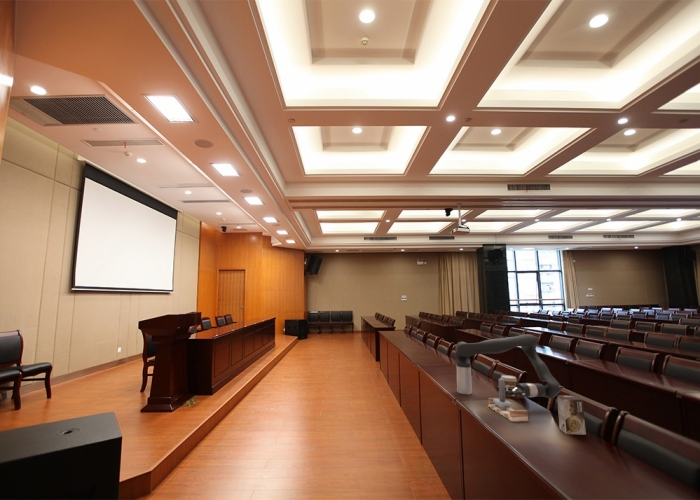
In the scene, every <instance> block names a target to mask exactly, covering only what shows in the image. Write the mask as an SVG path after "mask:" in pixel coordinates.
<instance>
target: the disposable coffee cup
mask: <svg viewBox="0 0 700 500" xmlns="http://www.w3.org/2000/svg"><path fill="white" fill-rule="evenodd" d="M500 379H504V384H505V385H511V386H516V385H517V377H516V376H514V375H506V374H503V375H502V374H501V376H500ZM508 391H509V390H508ZM505 397H508V398H509V397H510V398H515V397H516V396H513V395H505Z"/></svg>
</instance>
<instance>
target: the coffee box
mask: <svg viewBox="0 0 700 500" xmlns="http://www.w3.org/2000/svg"><path fill="white" fill-rule="evenodd" d="M556 398H557V411H558V413H557V414H558V424H559V425H558V427H559V430H561V431H562V432H563V433H564V434H566V435H583V436H585V435H586V436H587V432H586V422H585V421H586V420H585V411H584V400H583V399H582V398H580V397H579V396H576V395H566V394H565V395H563V394H561V395H560V394H558V395H556Z"/></svg>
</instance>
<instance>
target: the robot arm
mask: <svg viewBox="0 0 700 500" xmlns="http://www.w3.org/2000/svg"><path fill="white" fill-rule="evenodd" d="M537 346H538V339H537V337H536V336H535V335H534V334H529V333H527V334H521V335H516V336H510V337H502V338H493V339H492V338H490V339H486V340H483V341H480V342H474V343H473V342H472V343H470V342H469V343H467V342H465V341H458V342H457V344H456V345H455V362H456V392H457V393H458V394H460V395H468V396H469V395H472V390H473V389H472V364H471V358H470V357H471V356H475V355H490V354H491V355H493V354H502V353H504V352H507V351H509V350H512V349H514V348H518V347H520V348H521V350H522V351H523V352H524V353H525V355H526V356H527V358H528V359H529V361H530V363H531V365H532V366H533V367H534V368H533V369H534V370H535V372H536V374H537V376H538V378H539V380H540V381H541V382H544V383H546V385H543V384H542V383H537V382H536V383H532V382H531V383H530V382H522V383H516V386H511V385H505V395H513V396H515V397H516V398H517V397H519V398H534V397H542V398H546V399H554V398H555V397H557V395H560V393H561V391H562V386H561V384H560V383H559V381H557V379H556V378H555V377H554V376H553V375H552V373H551V372H550V369H549V368H548V366H547V364H546V363H545V362H544V361H543V360H542V359H541V358H540V356H539V354H538V351H537ZM559 386H561V387H559ZM495 389H496V391H497V392H499V386H496V388H495ZM508 390H509V391H508Z"/></svg>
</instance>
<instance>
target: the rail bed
mask: <svg viewBox="0 0 700 500" xmlns="http://www.w3.org/2000/svg"><path fill="white" fill-rule="evenodd" d="M487 399H488V404H487V405H488V406H487V407H488V408H489V407H490V408H489V409H492V410H493V411H494V410H495V412H496V413H498V414H499V415H500V416H502V415H503V417H504V418H506V419H507V418H508V419H507V420H509V421H510V422H528V421H529V417H528V415H529V414H528V410H527V409H517V410H516V409H514V408H512V406H510V407H508V406H505V409H502V408H500V407H499V406H497V405H495V403H494V402H493V399H499V397H487Z"/></svg>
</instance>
